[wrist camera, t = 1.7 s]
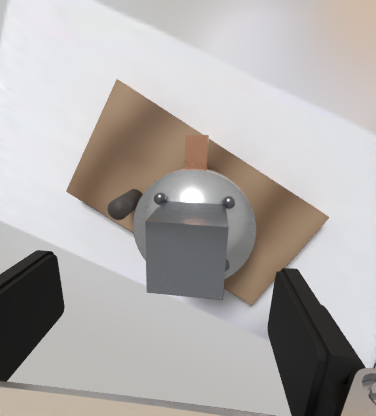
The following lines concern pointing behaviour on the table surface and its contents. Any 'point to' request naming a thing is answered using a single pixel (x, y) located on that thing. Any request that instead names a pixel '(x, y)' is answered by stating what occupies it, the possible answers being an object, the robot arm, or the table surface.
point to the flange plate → (203, 194)
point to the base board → (174, 160)
